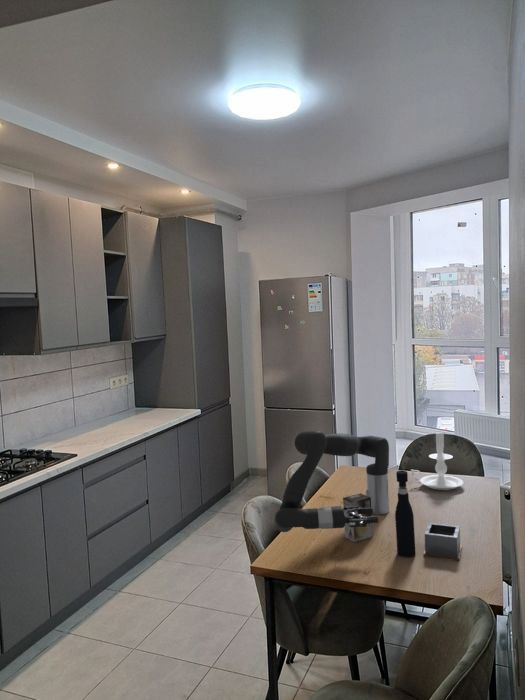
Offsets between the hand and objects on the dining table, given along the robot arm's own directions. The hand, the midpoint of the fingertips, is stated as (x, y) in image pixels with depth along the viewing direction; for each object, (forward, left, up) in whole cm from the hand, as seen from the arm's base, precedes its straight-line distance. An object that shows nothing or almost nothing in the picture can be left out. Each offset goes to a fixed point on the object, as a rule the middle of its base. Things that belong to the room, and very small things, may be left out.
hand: (375, 515), depth 193 cm
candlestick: (+11, +84, -15) cm, 86 cm away
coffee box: (-10, +14, -15) cm, 23 cm away
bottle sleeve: (+22, +11, -15) cm, 28 cm away
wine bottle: (+10, +5, -15) cm, 19 cm away
